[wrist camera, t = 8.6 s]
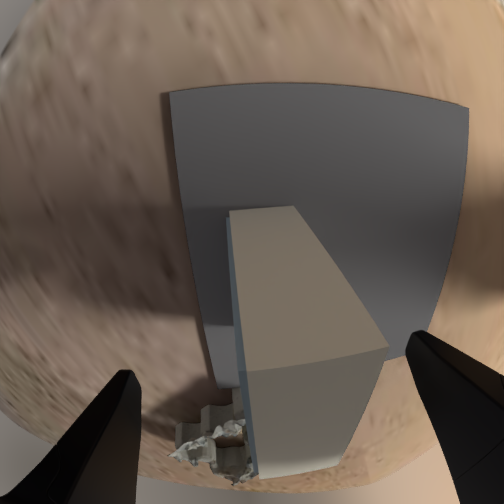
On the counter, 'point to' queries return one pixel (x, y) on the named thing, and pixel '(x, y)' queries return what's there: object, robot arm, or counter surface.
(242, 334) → the card box
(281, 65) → the counter surface
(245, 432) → the egg carton
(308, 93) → the mat
